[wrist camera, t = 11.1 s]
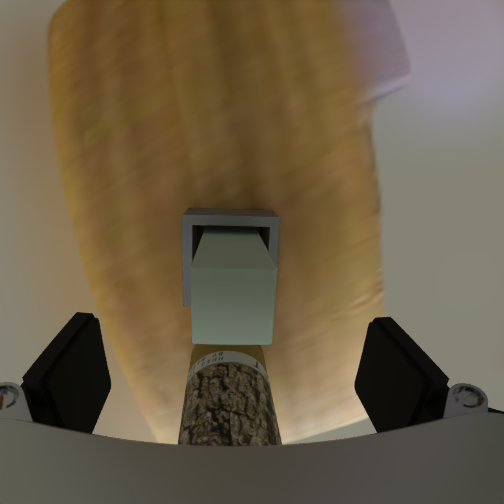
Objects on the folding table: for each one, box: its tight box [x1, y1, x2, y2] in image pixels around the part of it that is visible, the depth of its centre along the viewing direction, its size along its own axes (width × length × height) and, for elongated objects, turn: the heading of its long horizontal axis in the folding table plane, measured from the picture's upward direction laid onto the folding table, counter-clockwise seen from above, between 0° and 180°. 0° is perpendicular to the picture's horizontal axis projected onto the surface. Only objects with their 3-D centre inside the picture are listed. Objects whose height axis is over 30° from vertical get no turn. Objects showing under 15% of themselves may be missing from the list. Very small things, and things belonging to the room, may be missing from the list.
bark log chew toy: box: [178, 344, 282, 446], centre depth 17 cm, size 7×7×25 cm
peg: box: [191, 225, 277, 345], centre depth 21 cm, size 4×4×12 cm
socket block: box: [182, 208, 280, 306], centre depth 25 cm, size 7×7×4 cm
